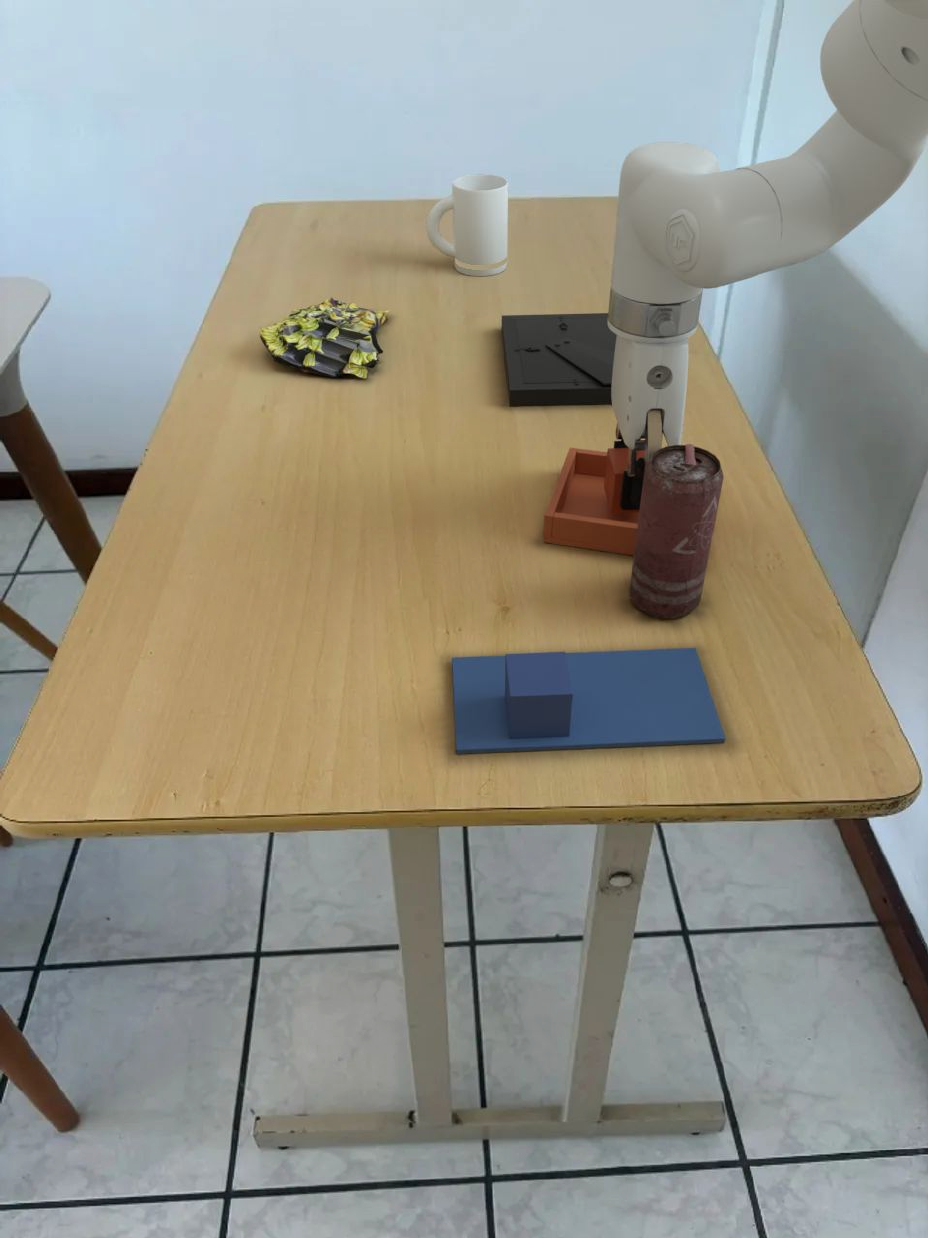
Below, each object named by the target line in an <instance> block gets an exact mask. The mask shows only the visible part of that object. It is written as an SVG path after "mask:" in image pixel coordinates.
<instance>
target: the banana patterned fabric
mask: <svg viewBox="0 0 928 1238" xmlns="http://www.w3.org/2000/svg"><path fill="white" fill-rule="evenodd" d="M389 312H390V310H389V309H387V310H375V309H369V308H364V307H359V306H357V305H356V304H355V302H354V301H353V302H350V303H346V302H344V301H342V300H340V299H338V300H335V299H334V298H333V296H331V297H329V298H325V300H323V301H322V302H321V303H319V304H317V305H315V304H311V305H310V306H309V307H304V308H302V309H292V310H291V312H290V314H289V316H286V317H284V318H283V319H282V320H281V321H277V322H275V323H274V324H273V325H272V326H267V327H266V329H265V328H262V327H260V330H261V332H260V333H259V339H260V341H261V343H262V344H263V346H264V347H265V349H266V350H267V351H268V353H269V355H270V357H271V358H272V360H273V361H274V363H275V364H280V365H284V366H286V367H290V368H292V369H293V368H294V369H297V370H300V371H302V372H303V373H311V374H314V375H319V376H323V377H326V378H327V377H328V378H338V377H339V378H340V377H344V374H347V375H353V376H356V377H358V378H361V379H367V378H368V375H369V373H368V369H375V368H376V366H377V365H378V362H380V360H379V359H378V355H380V354H383V353H384V350H383V349H382V348H381V346H380V344H379V342H378V337H377V331H378V330H379V328H381V326H382V325H383V324H384V323H385V322H386V321H387V320H388V318H389V316H388V313H389Z"/></svg>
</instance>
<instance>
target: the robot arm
mask: <svg viewBox="0 0 928 1238" xmlns="http://www.w3.org/2000/svg"><path fill="white" fill-rule="evenodd" d="M821 44H822V45H821V48H820V54H819V55H820V56H819V60H820V61H819V62H820V63H819V68H820V74H821V75H820V76H821V80H822V83H823V86H824V89H825V91H826V94H827V95H828V98H829V99H830V101H831V103H832V104H833V106H834V107H835V109H836V110H835V112H833V114H832V115H831V116H830V117H829V118H828V119H827V120H826V122H824V124H822V125H821V126H820V127H819V129H818V130H816V131H815V132H814V133H813V135H812V136H811V137H810V138H809V139H808V140H806V142H805V143H803V144H802V145H801V146H800V147H799V148H798V149H797V150H796V151H794V152H793V153H792V154H790V155H789V156H786V157H782V158H777V159H772V160H766V161H763V162H758V163H755V164H750V165H745V166H740V167H737V168H735V169H729V170H723V171H721V166H720V163H719V159H718V158H717V156H716V155H715V154H714V153H713V152H712V151H711V150H709V149H707V148H704V147H702V146H701V145H697V144H692V143H688V142H681V141H680V142H678V141H660V142H653V143H652V142H651V143H648V144H644V145H640V146H637V147H635V148H634V149H633V150H631V151H630V152H629V153H628V154H627V156H626V157H625V158H624V160H623V163H622V164H621V168H620V173H619V174H620V175H619V184H618V195H617V206H616V207H617V208H616V218H615V229H614V230H615V231H614V241H613V254H612V264H611V265H612V266H611V277H610V291H609V301H608V312H607V313H608V321H607V324H608V327H609V329H610V330H611V331H612V332H614V333H615V334H616V335H617V338H616V345H615V353H614V362H613V372H612V388H611V398H612V404H611V405H612V408H613V413H614V417H615V419H616V427H615V439H616V440H614V441H613V448H629V450H628V469H627V471H624V473H623V482H622V491H621V500H620V506H621V509H622V510H640V503H641V495H642V487H643V479H644V471H645V467H646V465H647V463H648V461H649V460H650V459H651V457H652V455H653V453H655V452H656V451H657V450H659V449H661V448H663V437H664V439H665V442H666V445H667V446H673V445H682V438H683V430H684V419H685V411H686V410H685V409H686V399H687V390H688V389H687V388H688V379H689V378H688V377H689V352H690V351H689V338H691V337H692V336H694V335H695V334H696V332H697V330H698V325H699V319H700V311H701V305H702V299H703V292H704V289H705V290H708V289H717V288H721V287H725V286H728V285H732V284H734V283H738V282H741V281H745V280H749V279H752V278H754V277H757V276H759V275H762V274H765V273H768V272H772V271H775V270H779V269H782V268H786V267H790V266H794V265H797V264H801V263H804V262H806V261H809V260H811V259H813V258H815V257H817V256H819V255H821V254H823V253H825V252H826V251H827V250H829V249H831V248H832V247H834V246H835V245H836V244H838V243H839V242H840V241H842V240H843V239H844V238H846V237H847V236H848V235H849V234H850V233H851V232H853V230H855V229H856V228H858V226H860V225H861V224H862V223H863V222H865V220H866V219H868V218H869V217H870V216H871V215H873V214H874V213H876V211H877V210H879V209H880V208H881V207H882V206H883V205H884V204H885V203H887V201H888V200H890V199H891V198H892V196H894V194H896V193H897V192H898V190H899V189H901V187H902V186H904V184H905V183H906V181H907V180H908V178H909V177H910V175H911V173H912V172H913V170H914V169H915V167H916V165H917V163H918V161H919V160H920V159H921V156H922V154H923V153H924V151H925V148H926V146H927V143H928V0H852V2H851V3H850V4H849V5H848V6H847V7H846V8H845V9H844V10H843V11H842V12H841V13H840V14H839V16H838V17H837V18H836V19H835V21H834V22H833V23H832V24H831V26H830V27H829V29H828V31H827V32H826V34H825V37H824V39H823V42H822V43H821ZM637 450H645V456H644V458H639V459H638V460H637V461H636V457H637Z"/></svg>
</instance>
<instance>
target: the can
mask: <svg viewBox="0 0 928 1238" xmlns="http://www.w3.org/2000/svg"><path fill="white" fill-rule="evenodd" d="M723 484H724V472H723V468H722V464H721V461H720V459H719V458H718V457H717V456H716V455H715V454H714V453H712V452H711V451H709V450H707V449H704V448H701V447H699V446H695V445H694V444H692V443H687V444H680V445H673V446H668V445H667V446H664V447H662V448H661V449H659V450H657V451H656V452H655V453H653V455H652V457H651V459H650V460H649V461H648V463H647V465H646V467H645V471H644V479H643V487H642V495H641V503H640V511H639V519H638V527H637V535H636V543H635V550H634V556H633V557H632V559H633V560H632V567H631V576H630V582H629V583H630V584H629V597H630V599H631V600H632V602H633V604H634V605H635V607H636V608H637V609H638V610H640V611H641V612H642V613H644V614H646V615H648V616H650V617H651V618H656V619H660V620H677V619H681V618H684V617H686V616H687V615H690V614H691V613H692V612H693V611H694V610H696V608H697V607H699V605H700V602H701V599H702V593H703V589H704V583H705V579H706V578H705V577H706V573H707V568H708V562H709V556H710V551H711V545H712V541H713V536H714V531H715V525H716V520H717V514H718V509H719V503H720V498H721V495H722V490H723V489H722V488H723Z"/></svg>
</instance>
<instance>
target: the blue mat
mask: <svg viewBox="0 0 928 1238" xmlns="http://www.w3.org/2000/svg"><path fill="white" fill-rule="evenodd" d="M565 653H566V658H567V664H568V670H569V675H570V681H571V686H572V692H573V699H572V711H571V723H570V735H569V736H564V737H540V738H516V739H510V738H509V731H508V722H507V712H506V702H505V657H506V654H505V655H483V656H482V655H481V656H479V655H478V656H457V657H456V656H455V657H452V658H451V664H452V665H451V666H452V667H451V668H452V669H451V670H452V686H453V687H452V688H453V689H452V690H453V708H454V709H453V710H454V731H455V732H454V733H455V749H456V750H455V751H456V754H457V755H462V754H463V755H464V754H487V753H489V754H490V753H509V752H510V753H513V752H514V753H515V752H536V751H537V752H538V751H555V750H556V751H558V750H559V751H561V750H578V749H579V750H582V749H583V750H585V749H605V748H607V749H608V748H629V747H655V746H676V745H677V746H678V745H700V744H723V743H726V740H727V739H726V736H725V732H724V730H723V729H724V728H723V727H722V723H721V721H720V717H719V714H718V711H717V708H716V705H715V702H714V699H713V696H712V694H711V690H710V687H709V685H708V681H707V679H706V674H705V673H704V670H703V669H704V668H703V666H702V663H701V661H700V658H699V655H698V652H697V648H696V647H682V648H681V647H680V648H658V649H655V648H654V649H633V650H632V649H631V650H607V651H605V650H604V651H583V652H581V651H580V652H565Z"/></svg>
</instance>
